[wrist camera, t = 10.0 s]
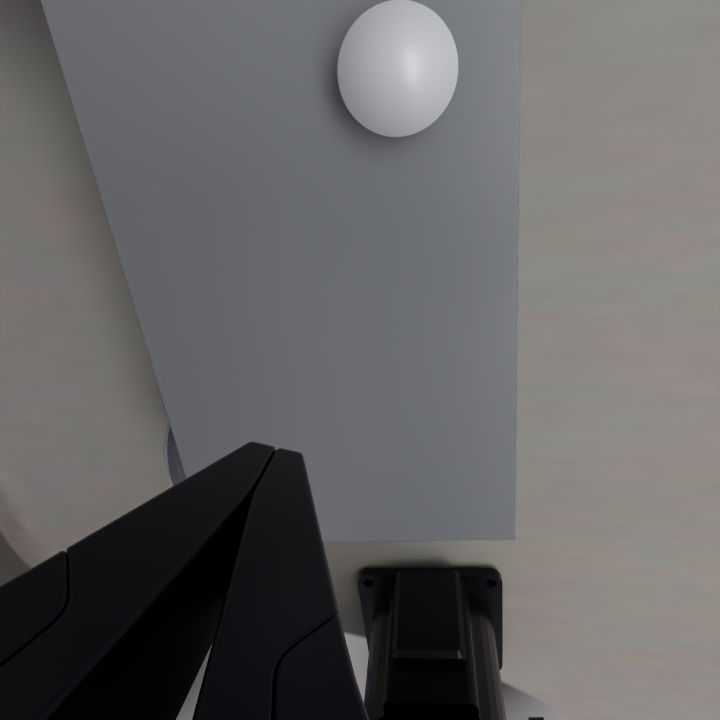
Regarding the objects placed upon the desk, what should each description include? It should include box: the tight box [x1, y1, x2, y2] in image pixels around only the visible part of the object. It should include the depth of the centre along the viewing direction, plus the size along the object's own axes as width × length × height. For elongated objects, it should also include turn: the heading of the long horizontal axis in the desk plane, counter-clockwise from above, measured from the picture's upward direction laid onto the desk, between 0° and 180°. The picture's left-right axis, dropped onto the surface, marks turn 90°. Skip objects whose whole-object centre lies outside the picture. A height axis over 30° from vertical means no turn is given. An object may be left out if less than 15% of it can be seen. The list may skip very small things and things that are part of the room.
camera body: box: [41, 0, 521, 541], centre depth 16 cm, size 18×12×6 cm, turn 6°
